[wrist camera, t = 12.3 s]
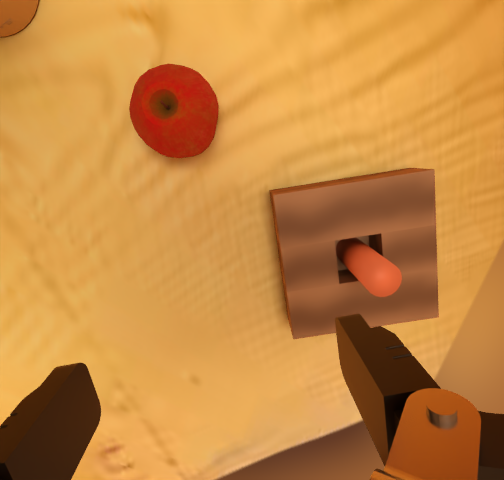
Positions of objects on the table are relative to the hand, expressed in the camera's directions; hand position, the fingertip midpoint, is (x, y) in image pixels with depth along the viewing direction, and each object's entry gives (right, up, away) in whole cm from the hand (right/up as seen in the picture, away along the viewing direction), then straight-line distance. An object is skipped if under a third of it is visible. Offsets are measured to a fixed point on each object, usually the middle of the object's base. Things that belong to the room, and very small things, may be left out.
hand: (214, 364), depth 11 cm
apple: (-6, +17, +26) cm, 32 cm away
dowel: (+12, +3, +29) cm, 31 cm away
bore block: (+12, +3, +30) cm, 32 cm away
